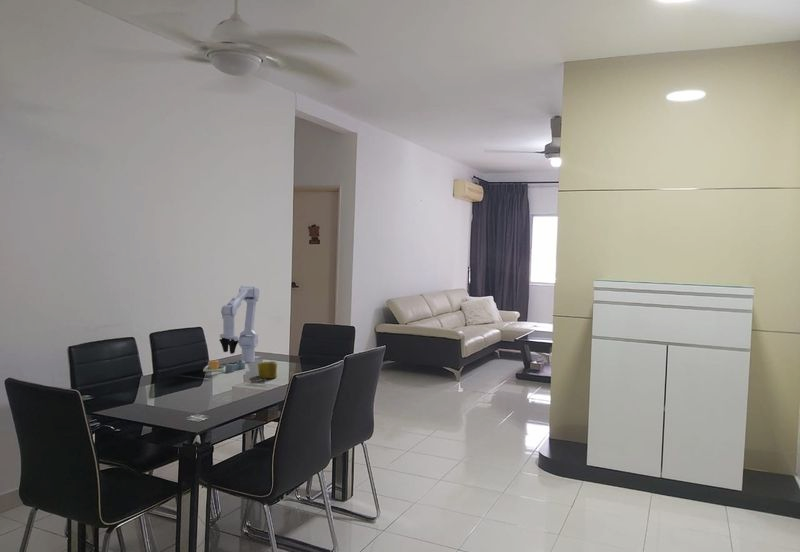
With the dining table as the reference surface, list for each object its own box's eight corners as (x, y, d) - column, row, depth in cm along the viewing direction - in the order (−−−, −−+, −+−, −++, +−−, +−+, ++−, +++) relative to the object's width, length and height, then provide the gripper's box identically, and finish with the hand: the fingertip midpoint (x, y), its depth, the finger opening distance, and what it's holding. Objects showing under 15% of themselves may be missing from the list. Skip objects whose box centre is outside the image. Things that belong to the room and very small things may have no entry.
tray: (206, 369, 324) (206, 365, 324) (226, 368, 326) (226, 365, 325) (203, 373, 314) (203, 369, 313) (223, 372, 315) (224, 369, 315)
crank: (239, 367, 325) (239, 359, 325) (246, 368, 324) (246, 359, 323) (225, 371, 314) (225, 363, 314) (232, 372, 312) (232, 363, 312)
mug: (277, 376, 299) (272, 357, 301) (258, 382, 300) (253, 363, 301) (284, 376, 311) (279, 357, 313) (265, 381, 312) (260, 363, 313)
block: (218, 369, 322) (218, 360, 321) (217, 371, 318) (217, 361, 318) (210, 369, 321) (210, 360, 321) (209, 371, 317) (209, 361, 317)
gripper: (214, 326, 321) (214, 351, 321) (229, 329, 311) (229, 355, 312) (226, 325, 326) (226, 350, 327) (241, 328, 316) (241, 353, 317)
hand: (228, 352), depth 320 cm, fingers open, 6 cm apart
